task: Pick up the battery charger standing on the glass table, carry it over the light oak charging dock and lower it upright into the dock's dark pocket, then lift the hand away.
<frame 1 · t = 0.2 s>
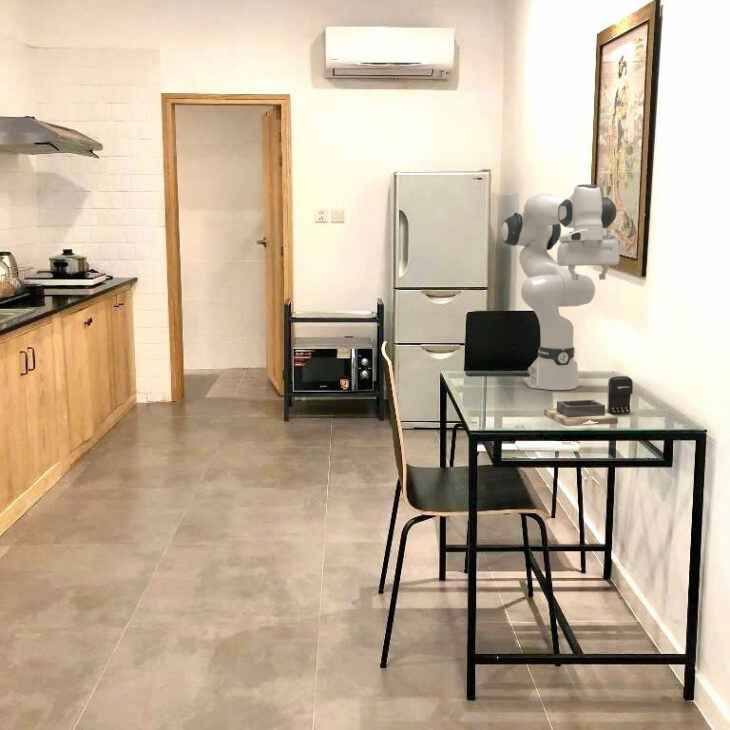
hand: (588, 280, 285), 39 cm above the table, tool pointing down, fingers open, 8 cm apart
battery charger: (619, 414, 272), on the table
dock: (580, 418, 267), on the table
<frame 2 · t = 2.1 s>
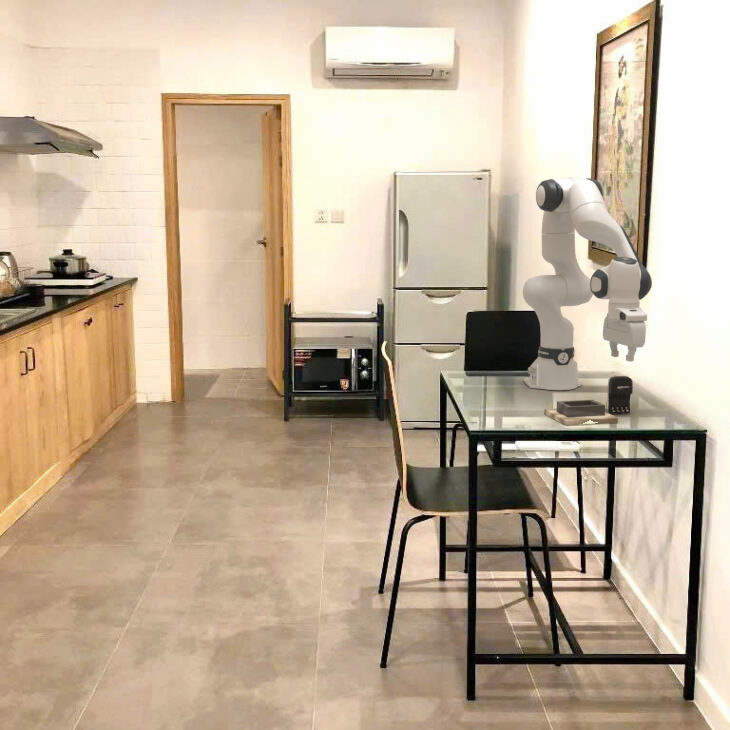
hand: (622, 358, 269), 17 cm above the table, tool pointing down, fingers open, 8 cm apart
nothing on the table moved.
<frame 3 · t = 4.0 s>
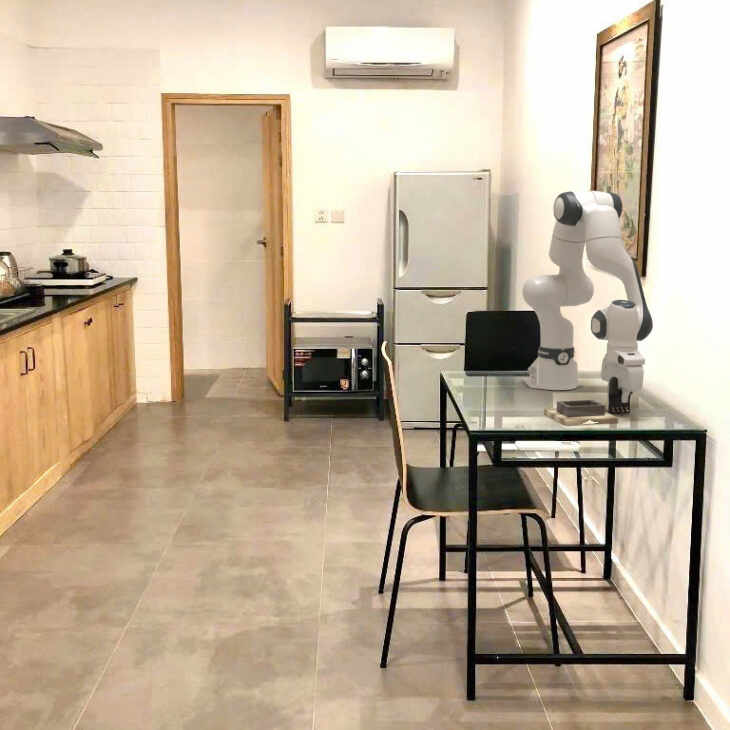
hand: (619, 400, 272), 4 cm above the table, tool pointing down, fingers closed on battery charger, 4 cm apart
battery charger: (619, 414, 272), on the table, touching gripper
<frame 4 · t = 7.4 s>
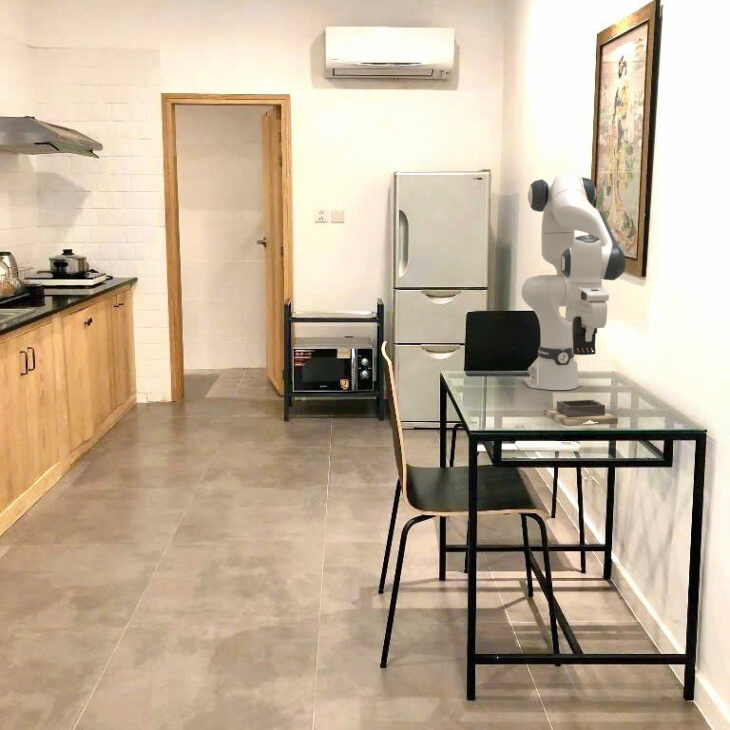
hand: (584, 340, 263), 23 cm above the table, tool pointing down, fingers closed on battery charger, 3 cm apart
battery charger: (584, 355, 263), point 19 cm above the table, touching gripper
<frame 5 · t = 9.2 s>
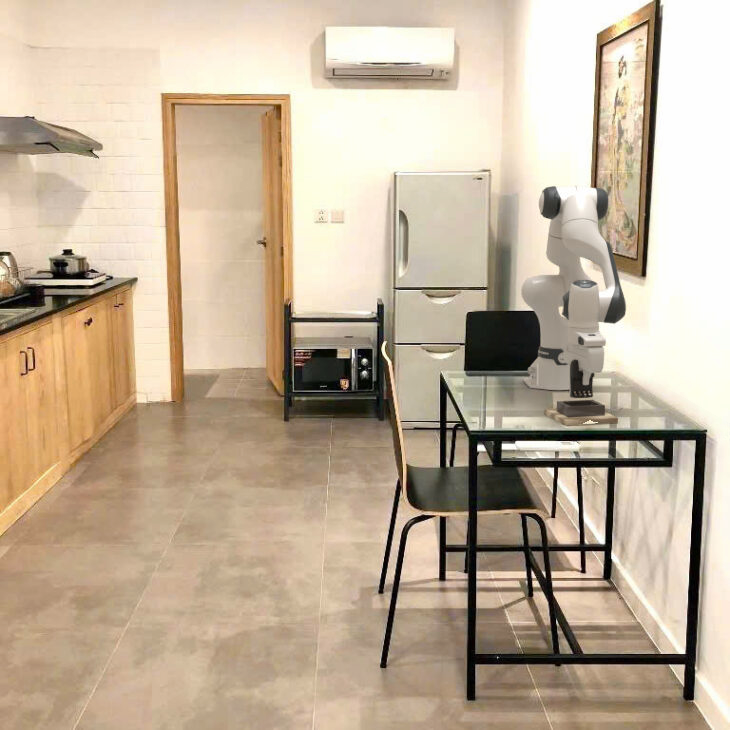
hand: (581, 383, 265), 11 cm above the table, tool pointing down, fingers closed on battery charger, 3 cm apart
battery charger: (581, 398, 265), point 6 cm above the table, touching gripper
when the fingers open (7 cm above the table, at t = 10.6 s): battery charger drops 1 cm, resting on dock.
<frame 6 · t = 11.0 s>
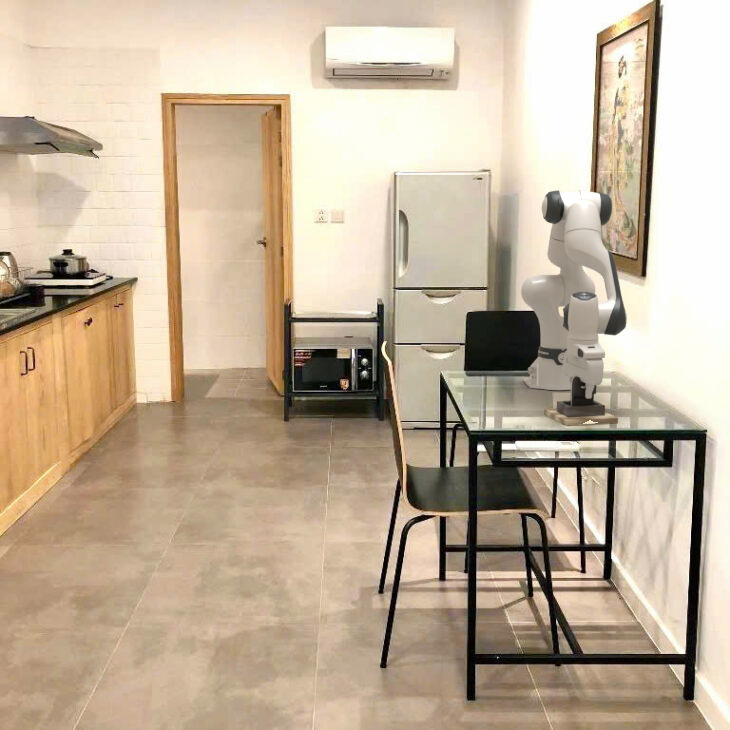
hand: (580, 394, 266), 7 cm above the table, tool pointing down, fingers open, 8 cm apart
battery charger: (582, 415, 265), point 1 cm above the table, touching dock
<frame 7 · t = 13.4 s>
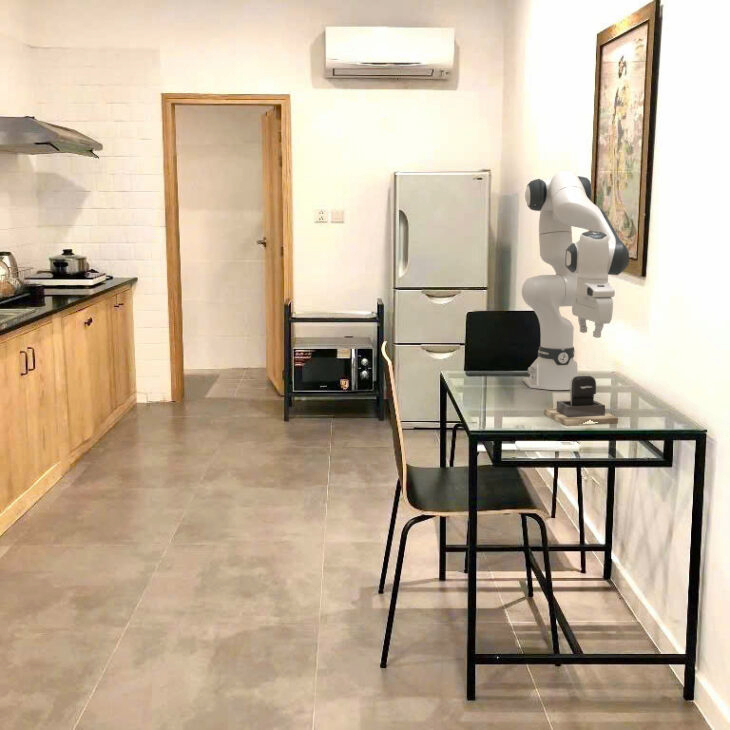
hand: (590, 334, 266), 24 cm above the table, tool pointing down, fingers open, 8 cm apart
nothing on the table moved.
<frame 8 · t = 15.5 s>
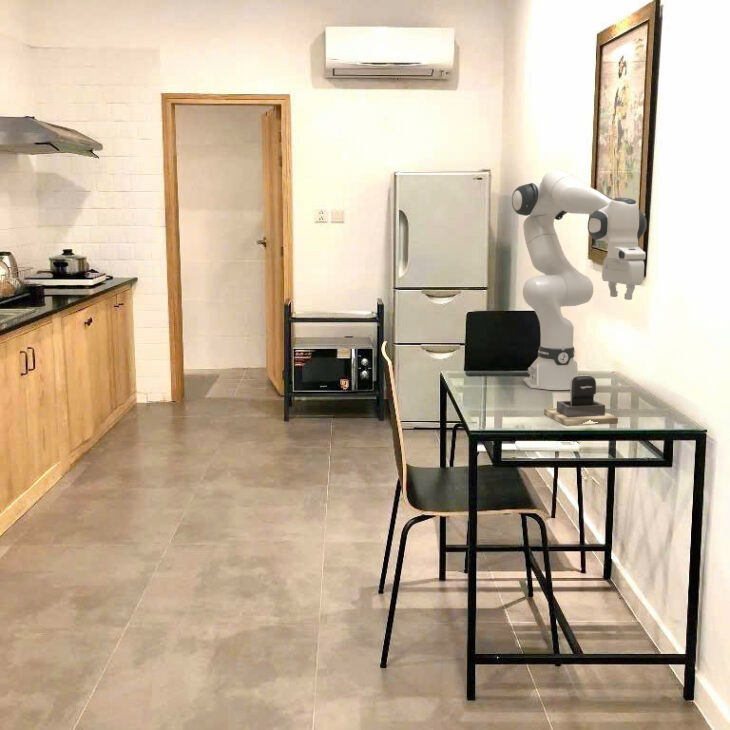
hand: (620, 298, 275), 34 cm above the table, tool pointing down, fingers open, 8 cm apart
nothing on the table moved.
at the end: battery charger 1.7 cm off-centre on the dock, point 1.3 cm above the dock's base; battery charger tilted 0°; the gripper is holding nothing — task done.
